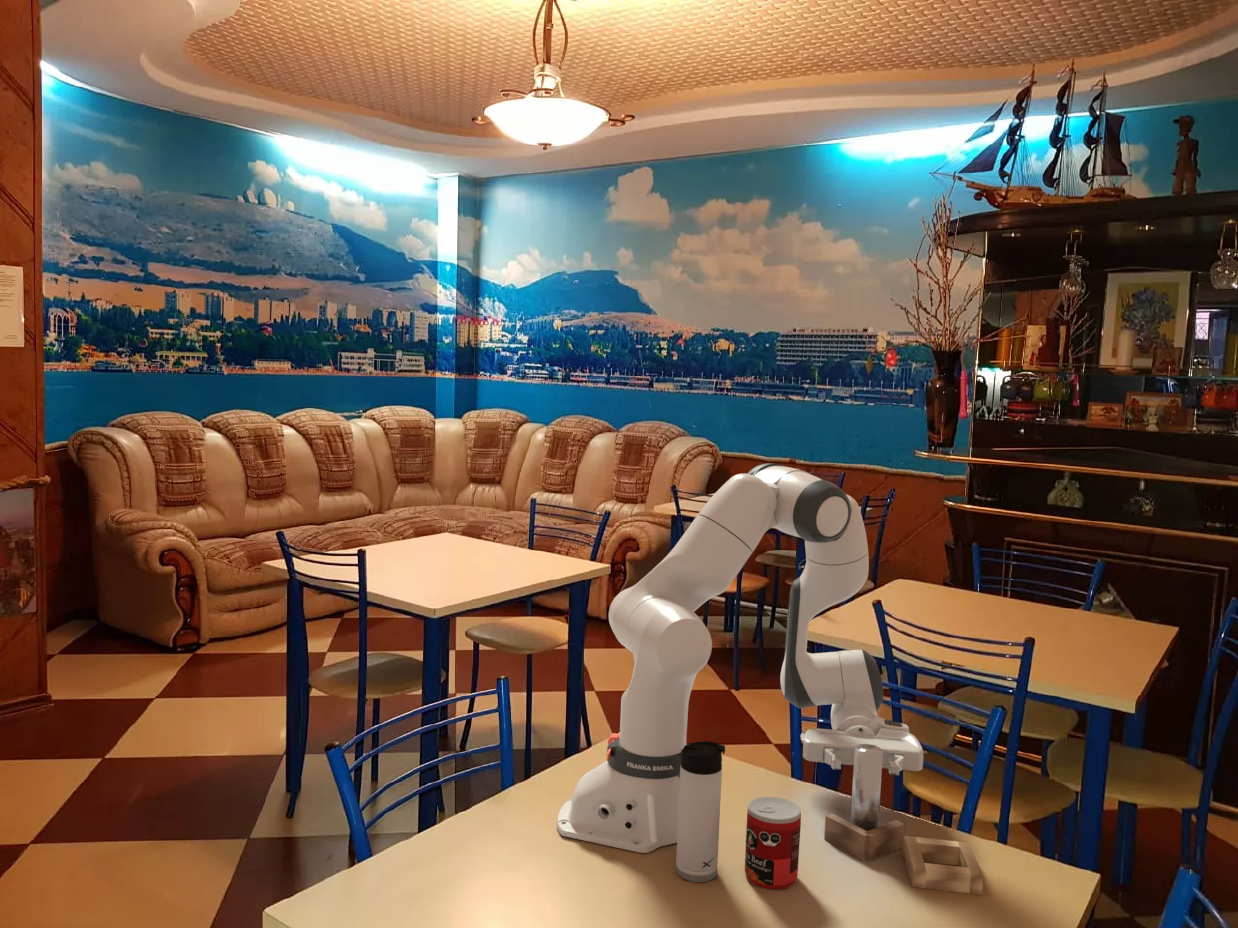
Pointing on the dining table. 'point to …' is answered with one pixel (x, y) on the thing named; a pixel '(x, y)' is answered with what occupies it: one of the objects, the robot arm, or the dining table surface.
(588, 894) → the dining table surface
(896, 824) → the walnut V-block
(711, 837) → the travel mug
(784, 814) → the canned food
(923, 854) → the oak collar
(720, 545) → the robot arm
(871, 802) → the steel axle
